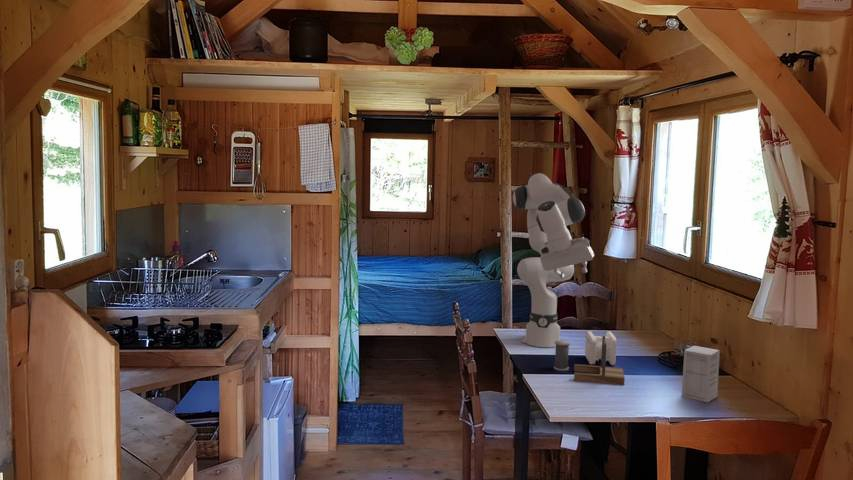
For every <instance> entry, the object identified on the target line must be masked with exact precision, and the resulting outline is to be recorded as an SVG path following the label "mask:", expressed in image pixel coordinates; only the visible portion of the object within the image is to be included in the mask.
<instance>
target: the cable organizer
mask: <svg viewBox="0 0 853 480" xmlns="http://www.w3.org/2000/svg"><path fill="white" fill-rule="evenodd" d="M602 338H603V336H598V335H597V336H596V335H594V333H593V332H592V330H590V331H589V330H588V331H587V330H586V332H585V345H584V354H585V355H584V356H585V358H586V360H587V362H588V363H589V365H591V366H594V365H596V361H597V362H598V363H599V362H600V361H599V360H601V356H602ZM605 341H606V344H607V346H606V362H607V361H608V362H609V364H610V366H614V365H616V361H617V360H616V358H617V337H616V336H615V335H614V334H613V333H612V331H606V333H605Z"/></svg>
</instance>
